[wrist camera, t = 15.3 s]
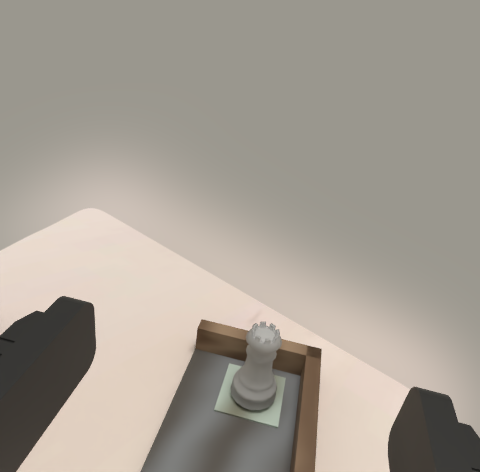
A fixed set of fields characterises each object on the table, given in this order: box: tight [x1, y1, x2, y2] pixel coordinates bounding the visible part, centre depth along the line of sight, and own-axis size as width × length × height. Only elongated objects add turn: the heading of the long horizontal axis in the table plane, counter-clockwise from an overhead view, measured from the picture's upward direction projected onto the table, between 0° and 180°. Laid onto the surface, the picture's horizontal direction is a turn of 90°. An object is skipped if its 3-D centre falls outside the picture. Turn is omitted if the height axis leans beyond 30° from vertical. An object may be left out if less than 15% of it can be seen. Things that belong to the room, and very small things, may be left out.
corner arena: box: [141, 320, 321, 472], centre depth 38 cm, size 13×16×4 cm
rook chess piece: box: [230, 322, 282, 410], centre depth 38 cm, size 4×4×8 cm
